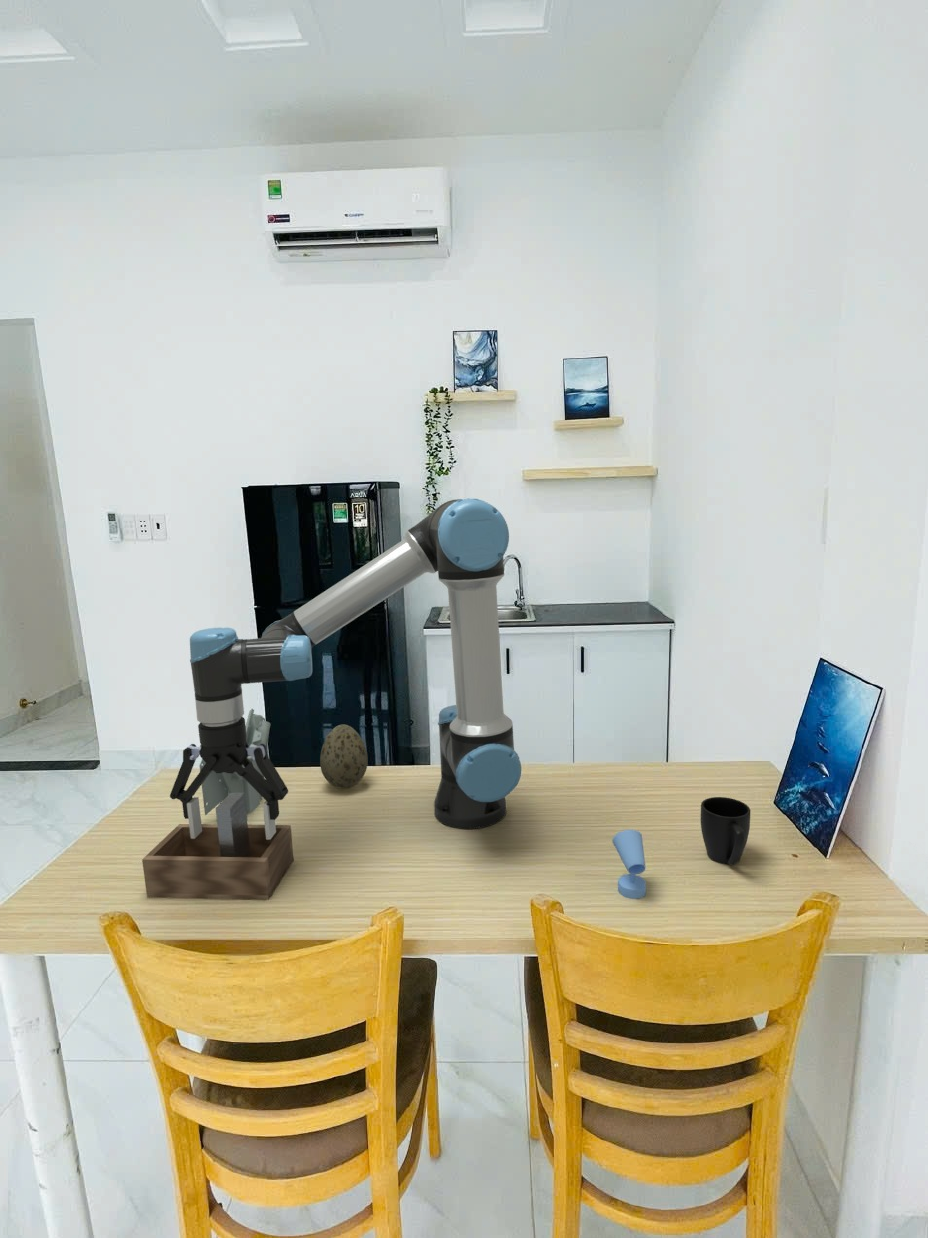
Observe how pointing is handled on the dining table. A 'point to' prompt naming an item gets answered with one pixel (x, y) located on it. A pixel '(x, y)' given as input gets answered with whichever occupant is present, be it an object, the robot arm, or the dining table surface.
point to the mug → (725, 828)
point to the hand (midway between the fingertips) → (233, 835)
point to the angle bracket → (233, 826)
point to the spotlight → (631, 863)
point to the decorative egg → (343, 757)
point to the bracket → (226, 783)
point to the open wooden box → (217, 865)
